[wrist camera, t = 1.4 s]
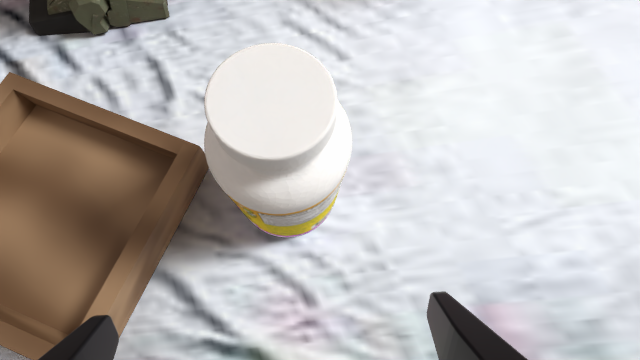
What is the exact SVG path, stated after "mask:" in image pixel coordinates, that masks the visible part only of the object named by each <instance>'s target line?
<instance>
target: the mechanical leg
mask: <svg viewBox="0 0 640 360" xmlns="http://www.w3.org/2000/svg"><path fill="white" fill-rule="evenodd" d="M167 5H168V3H167V0H30V4H29V23H30V24H31V26H32V27H33V29H34V31H35V32H36V34H38V35H54V34H69V33H84V32H92V33H93V34H94V35H95V34H100V33H104V32H107V31H108V29H109V26H112V25H113V26H115V27H122V26H130V23H136V22H142V21H149V20H155V19H161V18H167V17H169V11H168V7H167Z"/></svg>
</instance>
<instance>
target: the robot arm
mask: <svg viewBox="0 0 640 360" xmlns="http://www.w3.org/2000/svg"><path fill="white" fill-rule="evenodd" d="M427 319H428V323H429V326H430V330H431V333H432V337H433V340H434V344H435V347H436V351H437V354H438V358H439V360H527V359H526V358H525V357H524V356H523V355H521V354H520V353H519V352H518V351H517V350H515V349H514V348H513V347H512V346H511V345H509V344H508V343H507V342H506V341H505V340H503V339H502V338H501V337H500V336H499V335H497V334H496V333H495V332H494V331H493V330H491V329H490V328H489V327H488V326H487V325H485V324H484V323H483V322H482V321H481V320H479V319H478V318H477V317H476V316H475V315H473V314H472V313H471V312H470V311H469V310H467V309H466V308H465V307H464V306H462V305H461V304H460V303H459V302H458V301H456V300H455V299H454V298H453V297H452V296H450V295H449V294H448V293H446V292H433V293H431V295H430V299H429V304H428V309H427ZM118 341H119V335H118V332H117V330H116V327H115V325H114V323H113V321H112V318H111V317H110V316H109V315H96V316H92V317H90V318H89V319H88V320H86V321H85V322H84V323H83V324H81V325H80V326H79V327H78V328H76V329H75V330H74V331H73V332H71V333H70V334H69V335H68V336H66V337H65V338H64V339H63V340H61V341H60V342H59V343H58V344H56V345H55V346H54V347H53V348H51V349H50V350H49V351H48V352H46V353H45V354H44V355H43V356H41V357H40V358H39V359H38V360H113V359H114V355H115V352H116V349H117V346H118Z"/></svg>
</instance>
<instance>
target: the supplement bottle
mask: <svg viewBox="0 0 640 360" xmlns="http://www.w3.org/2000/svg"><path fill="white" fill-rule="evenodd" d="M204 105H205V114H206V118H207V121H208V123H207V126H206V131H205V138H204V147H205V156H206V160H207V163H208V166H209V169H210V171H211V173H212V175H213V177H214V178H215V180H216V182H217V183H218V184H219V185H220V187H221V188H222V190H223V191H224V192H225V193H226V194H227V195H228V196H229V197H230V198H231V199H232V200H233V202H234V203H235V204H236V205H237V206H238V207H239V209H240V210H241V211H242V212H243V213H244V214H245V215H246V216H247V218H248V219H249V220H250V221H251V222H252V223H253V224H254V225H255V226H257V227H258V228H259V229H261V230H262V231H264V232H266V233H268V234H271V235H274V236H278V237H296V236H300V235H304V234H306V233H308V232H310V231H312V230H314V229H315V228H317V227H318V226H319V225H320V224H321V223H322V222H323V221H324V220H325V219H326V218H327V216H328V215H329V213H330V211H331V209H332V207H333V205H334V203H335V200H336V197H337V194H338V191H339V188H340V185H341V182H342V180H343V177H344V175H345V172H346V170H347V166H348V164H349V160H350V156H351V150H352V134H351V128H350V124H349V120H348V118H347V115H346V113H345V111H344V109H343V108H342V106H341V104H340V103H339V101H338V100H337V92H336V88H335V85H334V82H333V79H332V77H331V75H330V73H329V72H328V70H327V69H326V68H325V66H324V65H323V64H322V63H321V62H320V61H319V60H318V59H317V58H315V57H314V56H313V55H311V54H309V53H308V52H306V51H304V50H302V49H300V48H298V47H294V46H291V45H286V44H280V43H266V44H259V45H254V46H251V47H248V48H245V49H243V50H241V51H238V52H236V53H235V54H233V55H231V56H230V57H229V58H227V59H226V60H225V61H224V62H222V64H221V65H220V66H219V67H218V68H217V69H216V70H215V72H214V73H213V75H212V77H211V79H210V81H209V83H208V86H207V89H206V93H205V100H204Z"/></svg>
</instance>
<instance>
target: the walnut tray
mask: <svg viewBox="0 0 640 360" xmlns="http://www.w3.org/2000/svg"><path fill="white" fill-rule="evenodd" d="M208 169H209V166H208V163H207V160H206V156H205V153H204V152H203V150H202V149H201V148H200V146H198V145H195V144H193V143H190V142H188V141H185V140H182V139H180V138H177V137H175V136H172V135H170V134H167V133H164V132H162V131H159V130H157V129H154V128H152V127H149V126H146V125H144V124H141V123H139V122H136V121H134V120H131V119H129V118H126V117H123V116H121V115H118V114H116V113H113V112H111V111H108V110H105V109H103V108H100V107H98V106H95V105H93V104H90V103H87V102H85V101H82V100H80V99H77V98H75V97H72V96H70V95H67V94H64V93H62V92H59V91H57V90H54V89H52V88H49V87H46V86H44V85H41V84H39V83H36V82H34V81H31V80H28V79H26V78H23V77H21V76H18V75H16V74H13V73H11V72H9V74H8V75H7V76H6V77H5V79H4V80H3V81H2V82H1V84H0V345H1V346H3V347H6V348H8V349H10V350H12V351H14V352H16V353H19V354H21V355H23V356H25V357H27V358H30V359H32V360H38V359H39V358H40V357H41V356H43V355H44V354H45V353H46V352H48V351H49V350H50V349H51V348H53V347H54V346H55V345H56V344H58V343H59V342H60V341H61V340H63V339H64V338H65V337H66V336H68V335H69V334H70V333H71V332H73V331H74V330H75V329H76V328H78V327H79V326H80V325H81V324H83V323H84V322H85V321H86V320H88V319H89V318H90V317H92V316H96V315H109V316H110V317H111V318H112V321H113V323H114V325H115V327H116V330H117V332H118V335H119V337H120V335H121V333H122V331H123V330H124V328H125V326H126V324H127V322H128V320H129V318H130V316H131V314H132V313H133V311H134V309H135V307H136V305H137V303H138V301H139V299H140V297H141V296H142V294H143V292H144V290H145V288H146V286H147V284H148V282H149V280H150V278H151V277H152V275H153V273H154V271H155V269H156V267H157V265H158V263H159V261H160V260H161V258H162V256H163V254H164V252H165V250H166V248H167V246H168V244H169V243H170V241H171V239H172V237H173V235H174V233H175V231H176V229H177V227H178V225H179V224H180V222H181V220H182V218H183V216H184V214H185V212H186V210H187V208H188V207H189V205H190V203H191V201H192V199H193V197H194V195H195V193H196V191H197V190H198V188H199V186H200V184H201V182H202V180H203V178H204V176H205V174H206V173H207V171H208Z"/></svg>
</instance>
